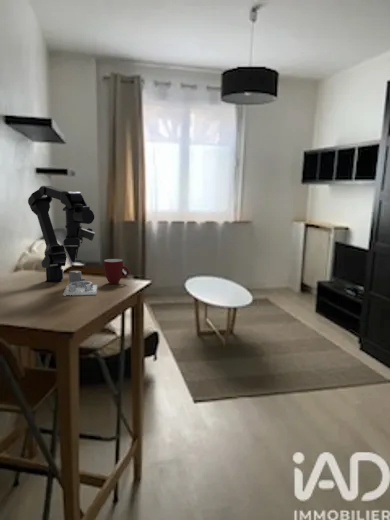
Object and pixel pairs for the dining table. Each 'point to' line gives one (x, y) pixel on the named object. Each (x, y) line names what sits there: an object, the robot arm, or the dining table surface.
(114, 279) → the mug
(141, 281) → the dining table surface
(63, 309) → the dining table surface
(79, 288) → the hub
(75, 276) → the knob
